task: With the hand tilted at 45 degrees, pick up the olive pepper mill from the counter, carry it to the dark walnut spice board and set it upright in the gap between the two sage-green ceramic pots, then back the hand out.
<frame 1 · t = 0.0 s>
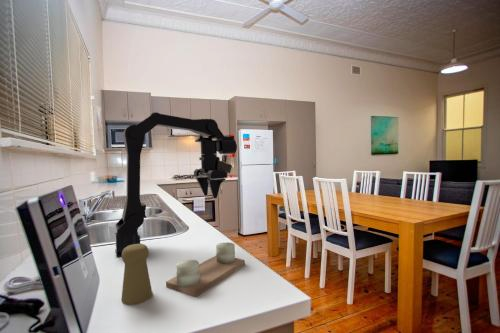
hand: (210, 196, 97), 15 cm above the countertop, tool pointing down, fingers open, 9 cm apart
olive pepper mill: (137, 297, 56), on the countertop
spice board: (208, 274, 65), on the countertop
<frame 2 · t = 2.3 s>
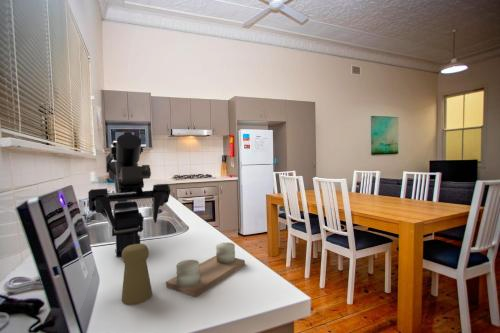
hand: (135, 224, 63), 13 cm above the countertop, tool tilted 45°, fingers open, 9 cm apart
nothing on the countertop moved.
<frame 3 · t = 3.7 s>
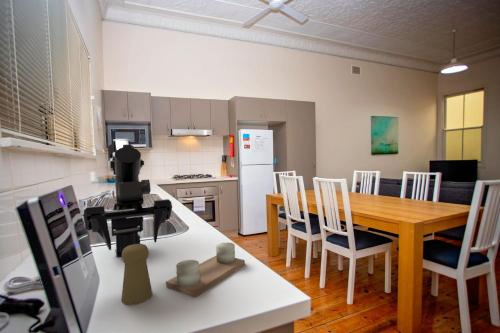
hand: (133, 245, 58), 10 cm above the countertop, tool tilted 45°, fingers open, 9 cm apart
nothing on the countertop moved.
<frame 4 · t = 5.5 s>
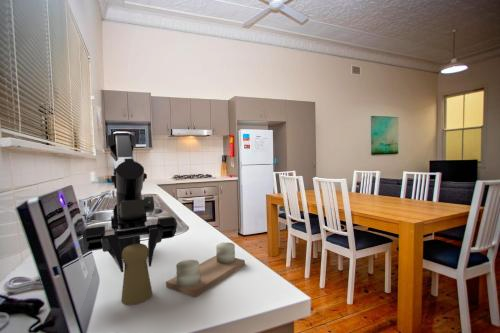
hand: (136, 268, 54), 7 cm above the countertop, tool tilted 45°, fingers closed on olive pepper mill, 5 cm apart
olive pepper mill: (137, 297, 56), on the countertop, touching gripper
everything else where it was.
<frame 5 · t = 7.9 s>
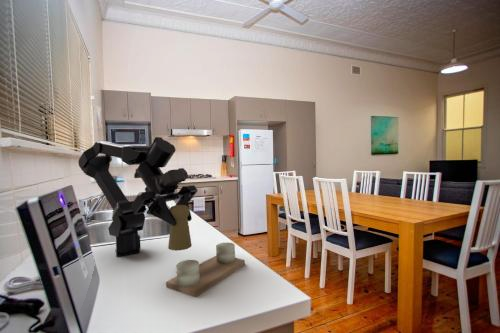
hand: (183, 222, 69), 12 cm above the countertop, tool tilted 45°, fingers closed on olive pepper mill, 5 cm apart
olive pepper mill: (180, 247, 70), point 5 cm above the countertop, touching gripper
everything else where it was.
when the fingers open (9 cm above the countertop, at t = 10.7 s): olive pepper mill stays where it is, resting on spice board.
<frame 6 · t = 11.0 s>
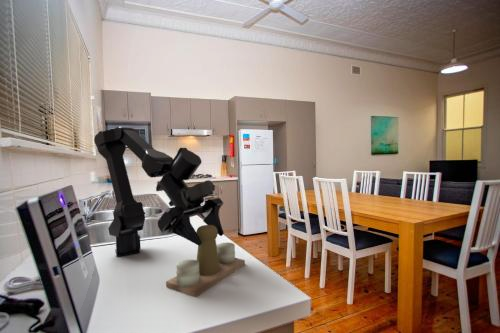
hand: (212, 239, 64), 9 cm above the countertop, tool tilted 45°, fingers open, 8 cm apart
olive pepper mill: (207, 270, 65), point 1 cm above the countertop, touching spice board
everything else where it was.
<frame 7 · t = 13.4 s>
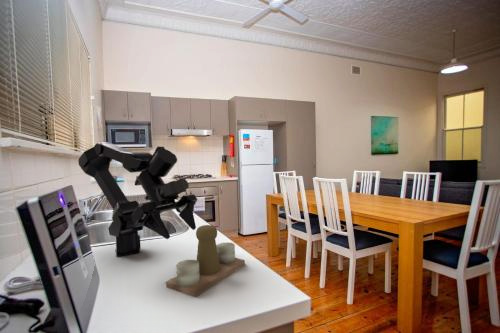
hand: (182, 233, 70), 9 cm above the countertop, tool tilted 40°, fingers open, 9 cm apart
nothing on the countertop moved.
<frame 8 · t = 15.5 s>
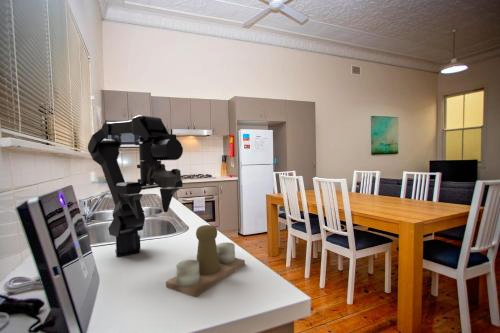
hand: (152, 215, 75), 13 cm above the countertop, tool pointing down, fingers open, 9 cm apart
nothing on the countertop moved.
at the end: olive pepper mill 0.2 cm off-centre on the spice board, point 1.0 cm above the spice board's base; olive pepper mill tilted 0°; the gripper is holding nothing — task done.
